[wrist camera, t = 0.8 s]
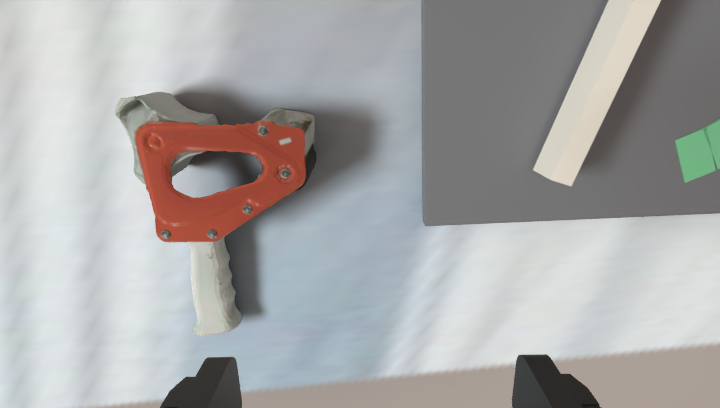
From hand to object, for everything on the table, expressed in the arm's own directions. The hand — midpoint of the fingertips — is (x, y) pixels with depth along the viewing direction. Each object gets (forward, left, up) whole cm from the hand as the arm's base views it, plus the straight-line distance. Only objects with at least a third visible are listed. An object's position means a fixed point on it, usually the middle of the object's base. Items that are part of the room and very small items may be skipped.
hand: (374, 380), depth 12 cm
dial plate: (-8, +18, -22) cm, 29 cm away
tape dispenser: (0, -12, -22) cm, 25 cm away
